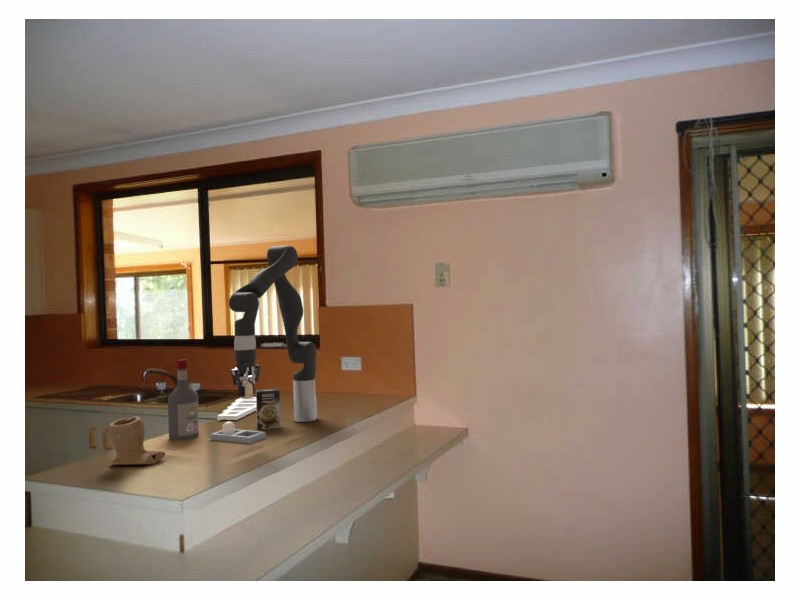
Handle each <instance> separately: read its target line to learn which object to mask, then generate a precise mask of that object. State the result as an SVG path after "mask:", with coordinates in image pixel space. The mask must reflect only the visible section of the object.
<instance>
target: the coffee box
mask: <svg viewBox="0 0 800 600" xmlns="http://www.w3.org/2000/svg"><path fill="white" fill-rule="evenodd" d="M280 391H281V390H280V389H279V388H265V389H255V394H256V396H255V397H256V412H255V413H256V431H259V430H268V429H270V430H271V429H279V428H281V394H280V393H281V392H280Z"/></svg>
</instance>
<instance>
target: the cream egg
mask: <svg viewBox="0 0 800 600" xmlns="http://www.w3.org/2000/svg"><path fill="white" fill-rule="evenodd" d="M221 427H222V429H221V430H222V434H226V435H231V434H234V433H235V429H236V426H235V423H234V422H233V421H225V422H224V423H223V424H222V426H221Z"/></svg>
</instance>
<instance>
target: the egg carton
mask: <svg viewBox="0 0 800 600" xmlns="http://www.w3.org/2000/svg"><path fill="white" fill-rule="evenodd" d="M265 439H268V436H266V431H260V430H251V429H247V430H246V429H237V428H235V433H234V434H231V435H226V434H222V429H221V430H219V431H218V430H217V431H216V432H213V433H210V438H209V439H208V440H209V441H214V442H215V441H216V442H227V443H235V444H236V443H237V444H247V445H252V444H254V443H256V442H259V441H262V440H265Z"/></svg>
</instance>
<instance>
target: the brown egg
mask: <svg viewBox="0 0 800 600" xmlns="http://www.w3.org/2000/svg"><path fill="white" fill-rule="evenodd" d="M244 386H245V397H239V399H240V398H242V399H247V398H253V397H254V394H253V385H252V384H251V383H250V382H248V381H247V380H245V385H244Z"/></svg>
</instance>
